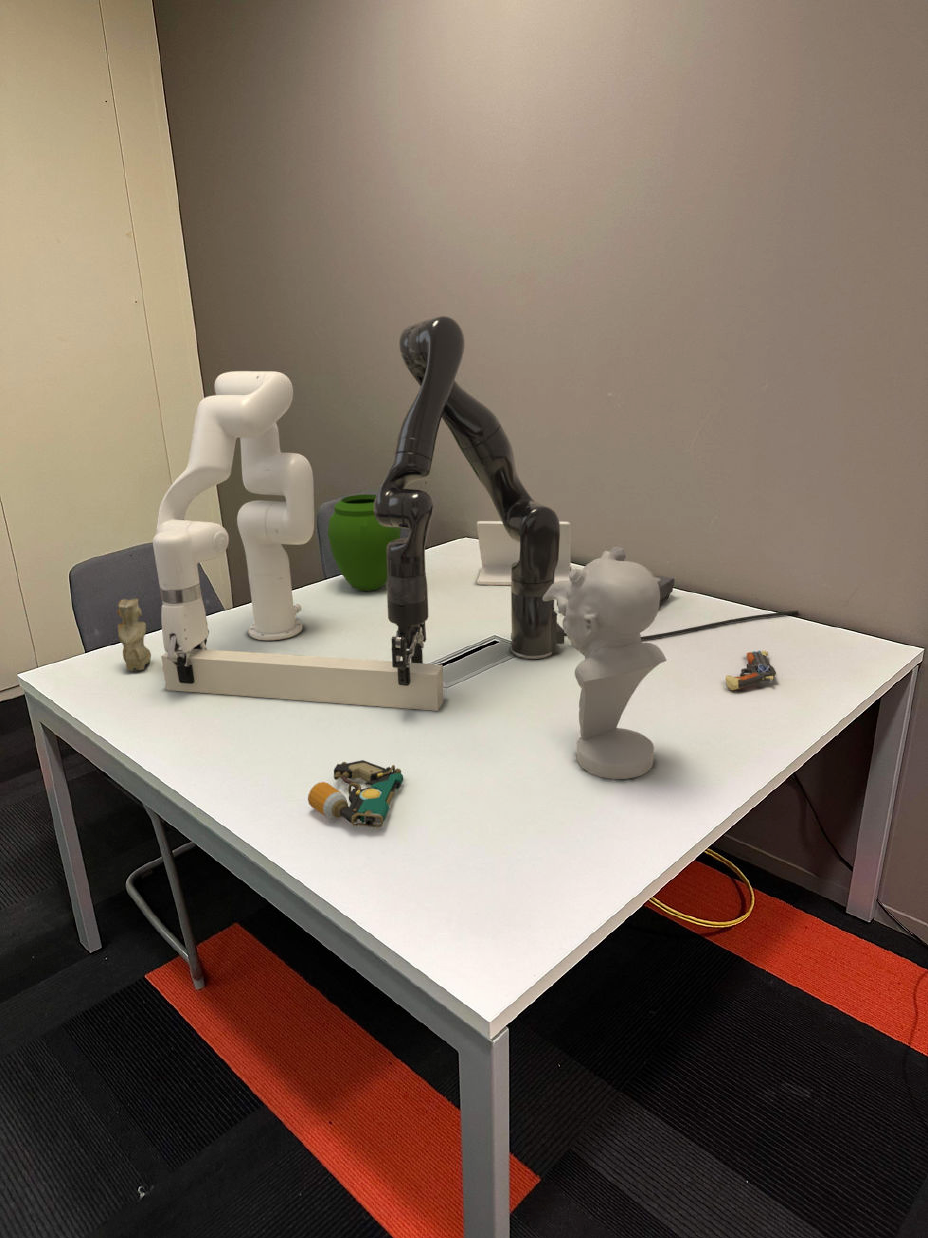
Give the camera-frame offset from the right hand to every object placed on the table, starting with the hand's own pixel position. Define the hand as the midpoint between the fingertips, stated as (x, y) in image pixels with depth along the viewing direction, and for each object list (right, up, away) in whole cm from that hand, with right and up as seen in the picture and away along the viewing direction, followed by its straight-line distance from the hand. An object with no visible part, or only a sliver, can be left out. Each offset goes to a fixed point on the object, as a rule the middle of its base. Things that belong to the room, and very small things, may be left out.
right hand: (410, 675), depth 164 cm
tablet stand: (+27, +23, +75) cm, 83 cm away
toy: (+48, +14, +51) cm, 72 cm away
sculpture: (-61, 0, +22) cm, 65 cm away
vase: (-16, +19, +69) cm, 74 cm away
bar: (-22, -4, +7) cm, 24 cm away
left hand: (-45, -1, +11) cm, 46 cm away
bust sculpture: (+32, -12, -18) cm, 39 cm away
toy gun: (+68, 0, +10) cm, 69 cm away
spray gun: (-6, -18, -30) cm, 35 cm away
